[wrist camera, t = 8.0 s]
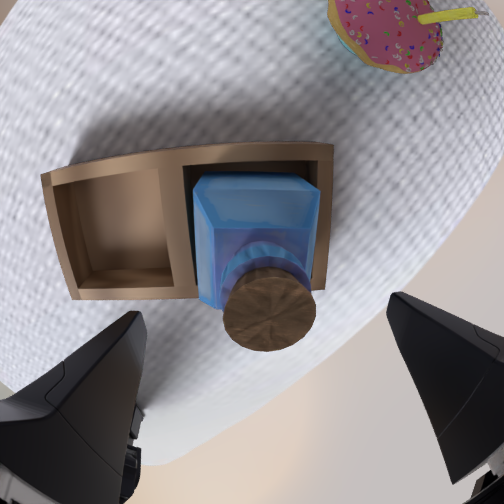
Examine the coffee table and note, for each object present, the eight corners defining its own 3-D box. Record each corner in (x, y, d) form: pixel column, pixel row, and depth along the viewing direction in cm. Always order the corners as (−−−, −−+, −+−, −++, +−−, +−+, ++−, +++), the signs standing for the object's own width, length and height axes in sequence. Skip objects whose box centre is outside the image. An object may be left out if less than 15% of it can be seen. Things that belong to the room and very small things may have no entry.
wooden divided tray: (90, 275, 22) (72, 299, 19) (67, 165, 18) (40, 174, 15) (311, 264, 23) (324, 289, 20) (315, 141, 19) (333, 144, 16)
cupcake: (415, 31, 15) (513, 3, 4) (388, 101, 18) (504, 98, 7) (330, -23, 13) (397, -97, 2) (292, 46, 16) (358, -31, 5)
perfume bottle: (294, 172, 19) (373, 231, 8) (288, 253, 22) (337, 371, 11) (204, 171, 19) (167, 230, 8) (206, 253, 21) (187, 378, 10)
